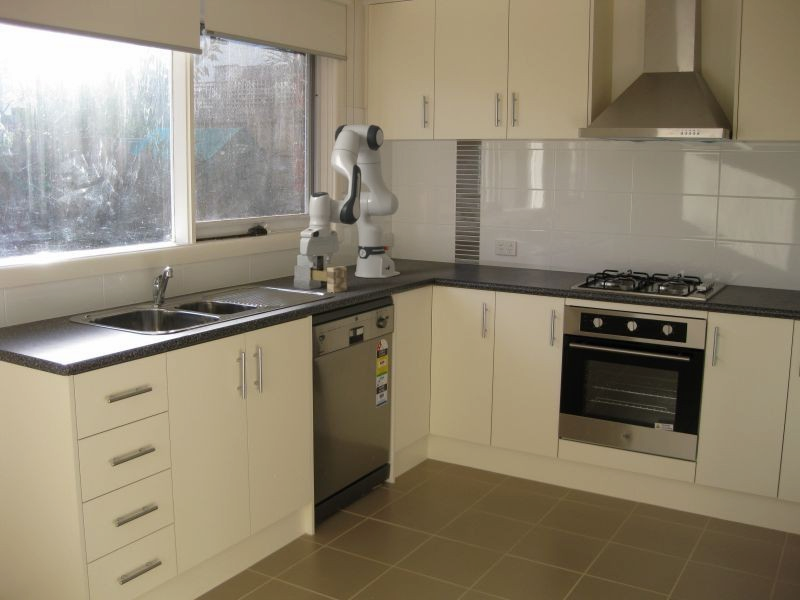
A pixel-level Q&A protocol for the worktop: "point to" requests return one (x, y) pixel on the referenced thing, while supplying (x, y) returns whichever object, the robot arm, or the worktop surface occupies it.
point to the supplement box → (305, 260)
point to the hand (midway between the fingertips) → (320, 265)
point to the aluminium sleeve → (305, 277)
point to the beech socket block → (337, 279)
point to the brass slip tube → (319, 270)
